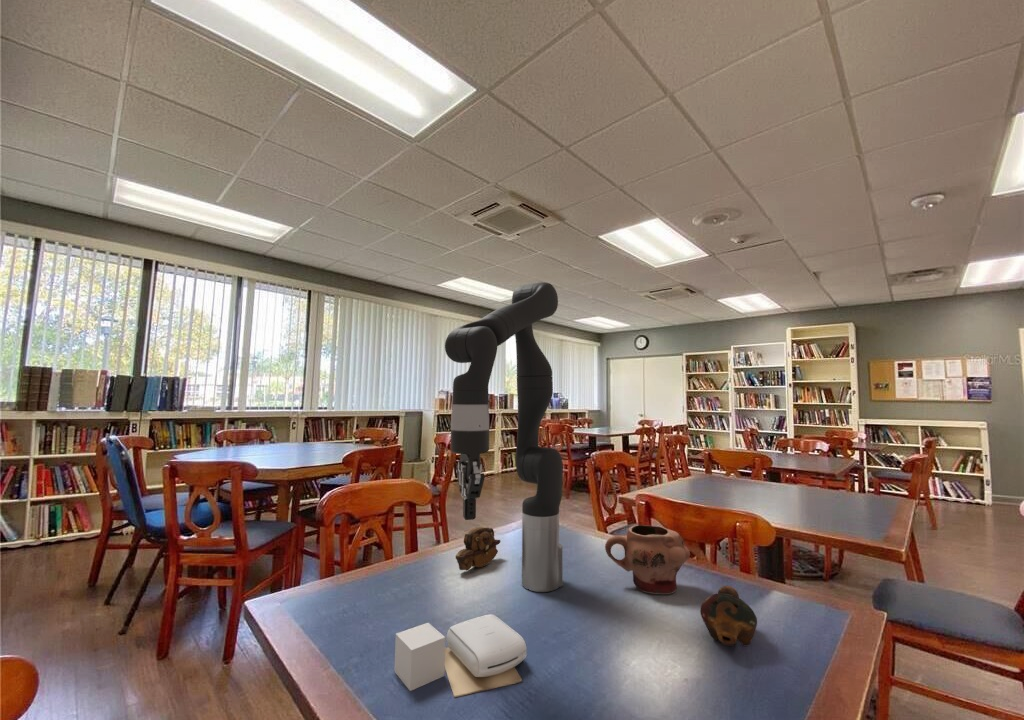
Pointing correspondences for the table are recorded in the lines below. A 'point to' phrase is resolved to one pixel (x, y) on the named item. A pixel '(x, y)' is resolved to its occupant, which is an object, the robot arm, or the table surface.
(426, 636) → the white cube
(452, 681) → the cork mat
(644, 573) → the sculpted ceramic mug
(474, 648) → the photo printer
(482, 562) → the wooden carving
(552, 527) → the robot arm
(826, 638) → the table surface
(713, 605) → the decorative turtle
